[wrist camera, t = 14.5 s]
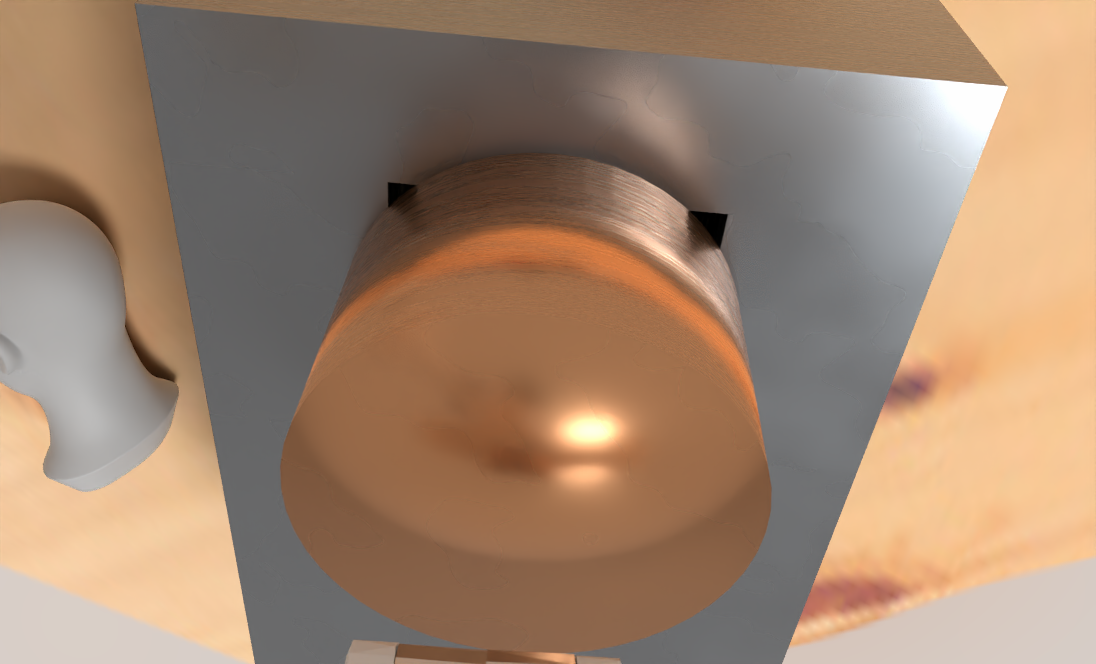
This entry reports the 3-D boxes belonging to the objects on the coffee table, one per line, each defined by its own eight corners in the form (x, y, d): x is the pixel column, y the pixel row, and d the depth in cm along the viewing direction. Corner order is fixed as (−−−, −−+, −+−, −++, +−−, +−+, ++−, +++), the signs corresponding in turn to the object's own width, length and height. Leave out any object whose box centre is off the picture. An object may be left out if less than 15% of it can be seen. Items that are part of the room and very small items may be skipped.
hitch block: (336, 484, 31) (265, 720, 24) (288, -133, 20) (134, 3, 13) (715, 519, 31) (743, 762, 24) (879, -76, 20) (1007, 86, 13)
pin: (412, 250, 24) (299, 633, 15) (409, -22, 20) (255, 289, 11) (679, 275, 24) (720, 671, 15) (731, 9, 20) (827, 342, 11)
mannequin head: (-13, 153, 25) (145, 181, 24) (82, 389, 30) (219, 424, 29) (-161, 234, 22) (11, 271, 21) (-28, 483, 27) (120, 529, 25)
